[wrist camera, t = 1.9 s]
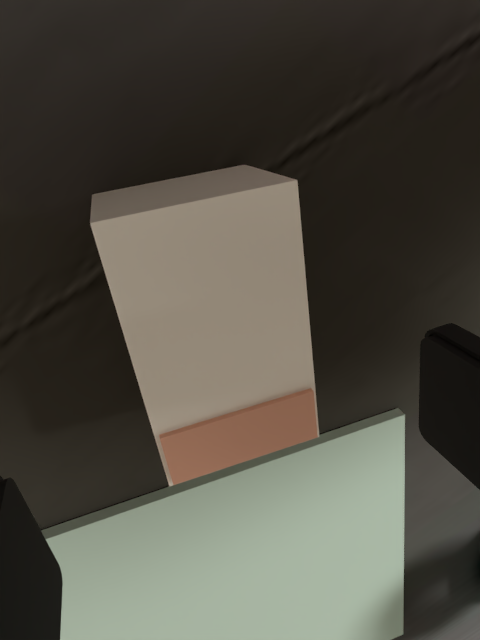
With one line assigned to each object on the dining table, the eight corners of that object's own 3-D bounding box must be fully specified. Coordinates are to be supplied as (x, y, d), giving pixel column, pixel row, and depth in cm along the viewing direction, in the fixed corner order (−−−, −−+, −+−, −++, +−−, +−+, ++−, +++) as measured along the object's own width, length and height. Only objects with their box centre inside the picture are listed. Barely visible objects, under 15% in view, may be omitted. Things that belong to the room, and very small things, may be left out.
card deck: (243, 164, 16) (300, 180, 12) (271, 368, 20) (321, 440, 16) (91, 193, 15) (90, 224, 11) (152, 403, 19) (170, 490, 15)
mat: (398, 407, 23) (404, 414, 23) (398, 625, 32) (403, 634, 32) (0, 544, 20) (-3, 556, 19) (124, 748, 28) (125, 759, 28)
